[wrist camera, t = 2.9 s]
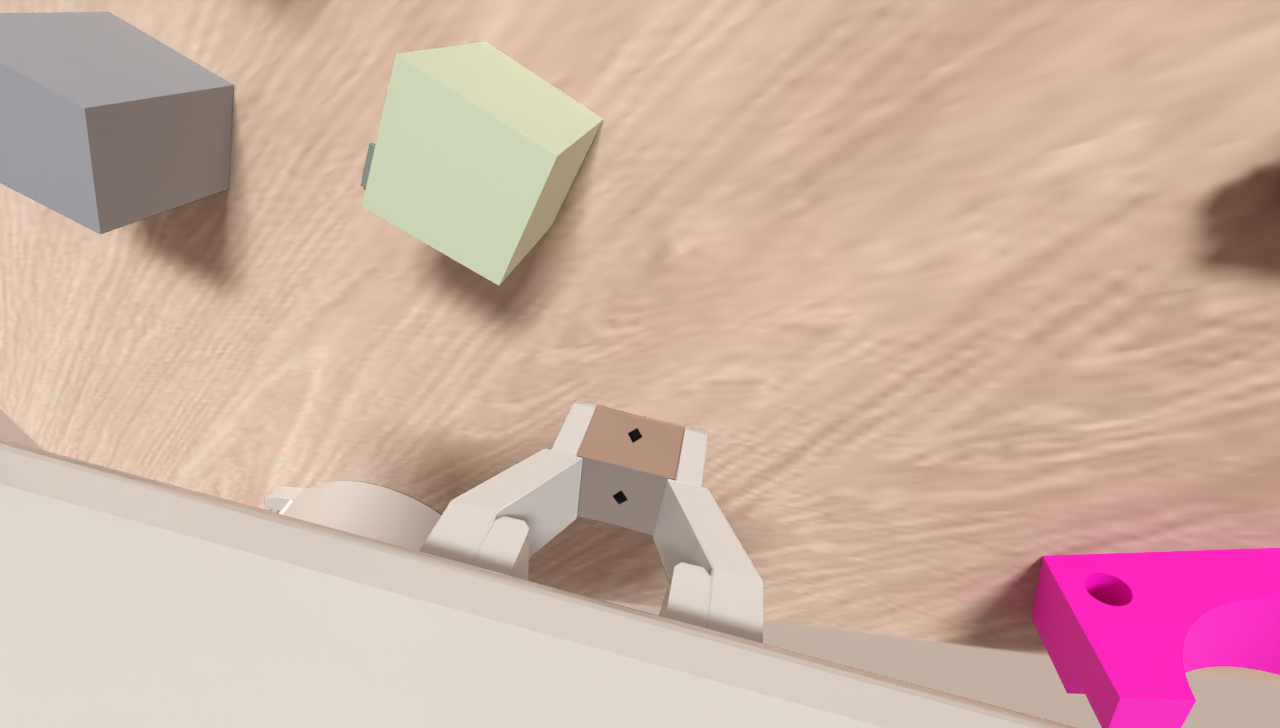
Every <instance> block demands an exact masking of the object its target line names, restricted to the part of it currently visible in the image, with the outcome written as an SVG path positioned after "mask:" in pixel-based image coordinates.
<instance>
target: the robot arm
mask: <svg viewBox="0 0 1280 728" xmlns="http://www.w3.org/2000/svg"><path fill="white" fill-rule="evenodd" d="M707 441H708V432H707V431H705V430H701V429H696V428H692V427H687V426H685V428H684V426H681V425H677V424H672V423H668V422H664V421H659V420H655V419H651V418H646V417H642V416H638V415H634V414H630V413H626V412H623V411H619V410H615V409H611V408H607V407H604V406H600V405H598V406H597V405H594V404H590V403H587V402H583V401H579V400H576V401H575V402H574V403H573V404H572V406H571V408H570V410H569V412H568V414H567V417H566V419H565V421H564V423H563V425H562V427H561V429H560V431H559V433H558V435H557V437H556V440H555V442H554V444H553V446H552V448H551V450H549V449H545V448H544V449H542V450H540V451H539V452H537V453H535V454H533V455H531V456H530V457H528V458H526V459H524V460H522V461H521V462H519V463H517V464H515V465H513V466H512V467H510V468H508V469H506V470H505V471H503V472H501V473H499V474H497V475H496V476H494V477H492V478H490V479H488V480H487V481H485V482H483V483H481V484H479V485H478V486H476V487H474V488H472V489H471V490H469V491H467V492H465V493H463V494H462V495H460V496H458V497H456V498H454V499H453V500H451V502H450V503H449V505H448V506H447V508H446V510H445V511H444V513H443V514H442V515H441V514H439V513H438V512H436V511H435V510H433V509H432V508H430V507H428V506H427V505H425V504H423V503H421V502H419V501H417V500H415V499H413V498H411V497H409V496H407V495H404V494H402V493H400V492H397V491H394V490H391V489H388V488H385V487H382V486H378V485H374V484H369V483H363V482H356V481H334V482H327V483H323V484H320V485H317V486H314V487H310V488H298V487H286V486H278V487H274V488H272V490H271V491H270V492H269V493H268V495H267V496H266V497H265V499H264V505H265V510H263V509H259V508H256V507H252V506H248V505H244V504H241V503H237V502H233V501H230V500H226V499H222V498H218V497H215V496H211V495H207V494H203V493H200V492H196V491H192V490H189V489H185V488H181V487H177V486H174V485H170V484H166V483H163V482H159V481H155V480H151V479H148V478H144V477H140V476H136V475H133V474H129V473H125V472H121V471H118V470H114V469H110V468H106V467H103V466H99V465H95V464H92V463H88V462H84V461H80V460H77V459H73V458H69V457H65V456H62V455H58V454H54V453H50V452H47V451H43V450H39V449H35V448H32V447H28V446H25V445H21V444H18V443H15V442H11V441H7V440H4V439H1V438H0V728H1075V727H1072V726H1068V725H1064V724H1061V723H1057V722H1053V721H1050V720H1046V719H1042V718H1038V717H1035V716H1031V715H1027V714H1023V713H1020V712H1015V711H1012V710H1009V709H1005V708H1001V707H997V706H994V705H990V704H986V703H982V702H979V701H975V700H971V699H968V698H964V697H960V696H956V695H953V694H949V693H945V692H942V691H938V690H934V689H930V688H926V687H923V686H919V685H915V684H912V683H908V682H904V681H901V680H897V679H893V678H889V677H886V676H882V675H878V674H874V673H871V672H867V671H863V670H860V669H856V668H852V667H848V666H845V665H841V664H837V663H833V662H830V661H826V660H822V659H819V658H814V657H811V656H807V655H804V654H800V653H796V652H792V651H789V650H785V649H781V648H777V647H774V646H770V645H767V644H763V581H762V579H761V578H760V576H759V574H758V572H757V571H756V569H755V567H754V566H753V564H752V562H751V561H750V559H749V557H748V555H747V554H746V552H745V550H744V549H743V547H742V545H741V544H740V542H739V540H738V538H737V537H736V535H735V533H734V532H733V530H732V528H731V527H730V525H729V523H728V521H727V520H726V518H725V516H724V515H723V513H722V511H721V510H720V508H719V506H718V504H717V503H716V501H715V499H714V498H713V496H712V494H711V493H710V491H709V489H706V488H703V487H702V481H703V473H704V465H705V457H706V449H707ZM577 516H579V517H583V518H587V519H592V520H596V521H601V522H605V523H609V524H614V525H618V526H621V527H625V528H628V529H632V530H635V531H639V532H642V533H646V534H649V535H653V539H654V542H655V545H656V548H657V551H658V553H659V556H660V559H661V562H662V564H663V567H664V570H665V573H666V575H667V578H668V581H669V585H668V588H667V591H666V595H665V598H664V601H663V604H662V607H661V610H660V613H659V616H658V615H654V614H650V613H646V612H643V611H639V610H635V609H631V608H628V607H624V606H620V605H617V604H613V603H609V602H606V601H602V600H598V599H594V598H591V597H587V596H583V595H580V594H576V593H572V592H568V591H565V590H561V589H557V588H554V587H550V586H546V585H542V584H539V583H535V582H531V581H528V576H529V558H530V557H531V556H532V555H534V554H535V553H536V552H537V551H538V550H540V549H541V548H542V547H543V546H544V545H546V544H547V543H548V542H549V541H550V540H552V539H553V538H554V537H555V536H556V535H558V534H559V533H560V532H561V531H562V530H564V529H565V528H566V527H567V526H568V525H570V524H571V523H572V522H573V521H574V520H575V519H577Z"/></svg>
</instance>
